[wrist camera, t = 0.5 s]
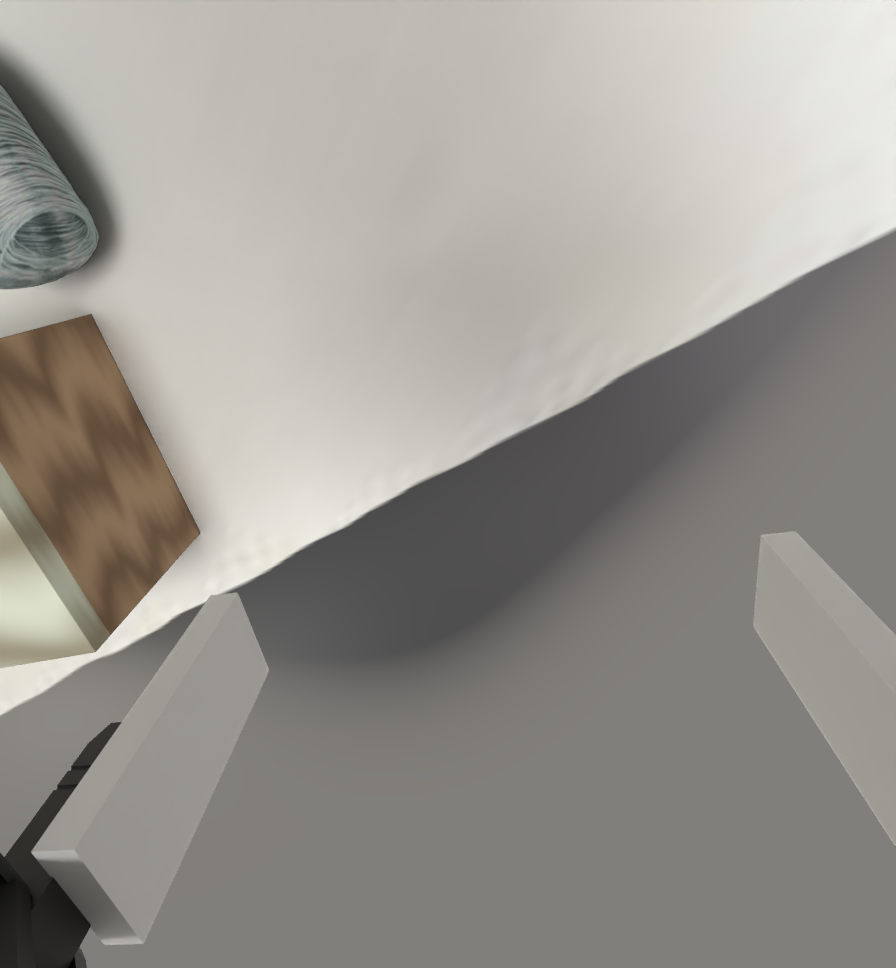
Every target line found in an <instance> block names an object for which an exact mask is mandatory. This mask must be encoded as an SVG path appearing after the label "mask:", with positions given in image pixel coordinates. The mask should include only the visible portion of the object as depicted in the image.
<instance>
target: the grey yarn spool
mask: <svg viewBox="0 0 896 968" xmlns="http://www.w3.org/2000/svg"><path fill="white" fill-rule="evenodd" d="M98 238H99V234H98V231H97V229H96V227H95V224H94V221H93V219H92V217H91V214H90V212H89V210H88V209H87V207H86V206H85V205H84V204H83V203H82V202H81V200H80V199H79V198H78V196H77V195H76V193H75V191H74V190H73V188H72V186H71V185H70V183H69V182H68V180H67V179H66V177H65V176H64V175H63V173H62V172H61V171H60V169H59V168H58V166H57V164H56V163H55V162H54V160H53V159H52V157H51V155H50V154H49V152H48V151H47V149H46V148H45V147H44V145H43V144H42V143H41V141H40V140H39V139H38V137H37V136H36V134H35V133H34V131H33V130H32V128H31V127H30V125H29V123H28V122H27V120H26V119H25V117H24V116H23V114H22V113H21V112H20V110H19V109H18V108H17V106H16V105H15V104H14V102H13V101H12V99H11V98H10V96H9V95H8V94H7V92H6V91H5V90H4V89H3V87H2V86H1V85H0V289H18V288H27V287H34V286H38V285H42V284H45V283H49V282H53V281H55V280H57V279H59V278H62V277H64V276H65V275H67V274H69V273H71V272H74V271H76V270H77V269H78V268H80V267H81V266H82V265H84V264H85V263H86V262H87V260H88V259H89V258H90V256H91V255H92V253H93V252H94V250H95V249H96V247H97V243H98Z"/></svg>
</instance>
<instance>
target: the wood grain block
mask: <svg viewBox="0 0 896 968" xmlns="http://www.w3.org/2000/svg"><path fill="white" fill-rule="evenodd" d="M199 534H200V531H199V529H198V527H197V525H196V523H195V521H194V519H193V517H192V515H191V513H190V511H189V509H188V507H187V505H186V503H185V501H184V499H183V497H182V495H181V493H180V491H179V489H178V487H177V485H176V483H175V481H174V479H173V477H172V475H171V473H170V471H169V469H168V467H167V465H166V463H165V461H164V459H163V457H162V455H161V453H160V451H159V449H158V447H157V445H156V443H155V441H154V439H153V437H152V435H151V433H150V431H149V429H148V427H147V425H146V423H145V421H144V419H143V417H142V415H141V413H140V411H139V409H138V407H137V405H136V403H135V401H134V399H133V397H132V395H131V393H130V391H129V389H128V387H127V385H126V383H125V381H124V379H123V377H122V375H121V373H120V371H119V369H118V367H117V365H116V363H115V361H114V359H113V357H112V355H111V353H110V351H109V349H108V347H107V345H106V343H105V341H104V339H103V337H102V335H101V333H100V331H99V329H98V327H97V325H96V323H95V321H94V319H93V317H92V315H91V314H90V315H87V316H83V317H79V318H75V319H72V320H68V321H64V322H60V323H56V324H53V325H49V326H45V327H41V328H38V329H34V330H30V331H26V332H22V333H19V334H15V335H11V336H7V337H4V338H0V668H4V667H10V666H16V665H22V664H28V663H34V662H40V661H46V660H52V659H58V658H63V657H69V656H75V655H81V654H87V653H93V652H96V651H97V650H98V649H99V648H100V646H101V645H102V644H103V643H104V642H105V641H106V640H107V638H108V637H109V636H110V635H111V634H112V633H113V632H114V630H115V629H116V628H117V627H118V626H119V625H120V624H121V622H122V621H123V620H124V619H125V618H126V617H127V616H128V615H129V613H130V612H131V611H132V610H133V609H134V608H135V607H136V605H137V604H138V603H139V602H140V601H141V600H142V599H143V597H144V596H145V595H146V594H147V593H148V592H149V591H150V589H151V588H152V587H153V586H154V585H155V584H156V583H157V581H158V580H159V579H160V578H161V577H162V576H163V575H164V574H165V572H166V571H167V570H168V569H169V568H170V567H171V566H172V564H173V563H174V562H175V561H176V560H177V559H178V558H179V556H180V555H181V554H182V553H183V552H184V551H185V550H186V548H187V547H188V546H189V545H190V544H191V543H192V542H193V540H194V539H195V538H196V537H197V536H198V535H199Z"/></svg>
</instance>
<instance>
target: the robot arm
mask: <svg viewBox="0 0 896 968" xmlns="http://www.w3.org/2000/svg"><path fill="white" fill-rule="evenodd" d="M753 626H754V628H755V630H756V631H757V633H758V635H759V636H760V638H761V639H762V641H763V642H764V644H765V645H766V647H767V648H768V650H769V652H770V653H771V655H772V656H773V658H774V659H775V661H776V662H777V664H778V666H779V667H780V669H781V670H782V671H783V673H784V675H785V676H786V678H787V679H788V681H789V683H790V684H791V686H792V687H793V689H794V690H795V692H796V693H797V695H798V696H799V698H800V700H801V701H802V703H803V704H804V706H805V707H806V709H807V710H808V712H809V714H810V715H811V717H812V718H813V720H814V721H815V723H816V724H817V726H818V728H819V729H820V731H821V732H822V733H823V735H824V737H825V738H826V740H827V742H828V743H829V745H830V746H831V747H832V749H833V751H834V752H835V754H836V755H837V757H838V758H839V760H840V762H841V763H842V765H843V766H844V768H845V769H846V771H847V772H848V774H849V776H850V777H851V779H852V780H853V782H854V783H855V785H856V786H857V788H858V790H859V791H860V793H861V794H862V796H863V797H864V799H865V800H866V802H867V803H868V805H869V807H870V808H871V810H872V811H873V813H874V814H875V816H876V817H877V819H878V820H879V822H880V824H881V825H882V827H883V828H884V830H885V831H886V833H887V834H888V836H889V838H890V839H891V841H892V842H893V844H894V845H895V847H896V635H895V634H894V633H893V632H892V631H891V630H890V629H889V628H888V627H887V626H886V625H885V624H884V623H883V622H882V621H881V620H880V619H879V618H878V617H877V616H876V615H875V613H874V612H873V611H872V610H871V609H870V608H869V607H868V606H867V605H866V604H865V603H864V602H863V601H862V600H861V599H860V598H859V597H858V596H857V595H856V594H855V593H854V592H853V591H852V590H851V589H850V588H849V587H848V586H847V584H846V583H845V582H844V581H843V580H842V579H841V578H840V577H839V576H838V575H837V574H836V573H835V572H834V571H833V570H832V569H831V568H830V567H829V566H828V565H827V564H826V563H825V562H824V561H823V560H822V559H821V557H820V556H819V555H818V554H817V553H816V552H815V551H814V550H813V549H812V548H811V547H810V546H809V545H808V544H807V543H806V542H805V541H804V540H803V539H802V538H801V537H800V536H799V535H798V534H797V533H796V532H795V531H793V532H784V533H775V534H767V535H761V539H760V550H759V562H758V575H757V587H756V599H755V612H754V624H753ZM268 672H269V669H268V666H267V664H266V661H265V659H264V656H263V654H262V651H261V649H260V647H259V644H258V642H257V639H256V637H255V634H254V632H253V629H252V627H251V624H250V622H249V619H248V617H247V615H246V612H245V610H244V607H243V605H242V602H241V600H240V597H239V595H238V593H229V594H220V595H211V596H210V597H209V598H208V600H207V601H206V603H205V604H204V606H203V607H202V609H201V610H200V611H199V613H198V614H197V616H196V617H195V619H194V620H193V621H192V623H191V624H190V626H189V627H188V628H187V630H186V631H185V633H184V634H183V636H182V637H181V638H180V640H179V641H178V643H177V644H176V646H175V647H174V648H173V650H172V651H171V653H170V654H169V656H168V657H167V658H166V660H165V661H164V663H163V664H162V666H161V667H160V669H159V670H158V671H157V673H156V674H155V676H154V677H153V678H152V680H151V681H150V683H149V684H148V686H147V687H146V688H145V690H144V691H143V693H142V694H141V696H140V697H139V699H138V700H137V702H136V703H135V704H134V705H133V707H132V709H131V710H130V711H129V713H128V714H127V716H126V717H125V719H124V720H123V721H122V722H117V723H111V724H110V725H108V726H107V727H106V728H105V729H104V730H103V731H102V732H101V733H99V734H98V735H97V736H96V737H95V738H94V739H93V740H92V741H90V742H89V743H88V744H87V746H86V747H85V749H84V750H83V751H82V753H81V754H80V755H79V757H78V758H77V760H76V761H75V762H74V763H73V765H72V766H71V767H72V769H71V771H68V772H67V773H66V774H65V776H64V777H63V778H62V780H61V781H60V783H59V784H58V785H57V786H58V788H57V790H54V791H53V792H52V794H51V795H50V796H49V797H48V799H47V800H46V802H45V803H44V804H43V806H42V807H41V808H40V810H39V811H38V812H37V814H36V815H35V816H34V818H33V819H32V821H31V822H30V823H29V825H28V826H27V828H26V829H25V830H24V832H23V833H22V834H21V836H20V837H19V838H18V840H17V841H16V842H15V844H14V845H13V846H12V848H11V849H10V851H9V852H8V853H7V855H6V856H5V857H3V856H2V854H1V853H0V968H86V960H85V957H84V955H83V953H82V950H81V949H80V948H79V947H80V944H81V943H82V941H83V939H84V937H85V935H86V934H87V932H88V930H89V928H90V927H91V928H92V929H93V931H94V932H95V933H96V934H97V936H98V937H99V938H100V940H101V941H102V942H103V943H104V945H114V944H143V943H144V941H145V939H146V937H147V935H148V933H149V930H150V928H151V926H152V924H153V922H154V920H155V917H156V915H157V913H158V911H159V909H160V906H161V904H162V902H163V900H164V898H165V896H166V894H167V891H168V889H169V887H170V884H171V883H172V880H173V878H174V876H175V874H176V872H177V870H178V868H179V865H180V863H181V861H182V859H183V857H184V855H185V852H186V850H187V848H188V846H189V844H190V842H191V839H192V837H193V835H194V833H195V831H196V829H197V826H198V824H199V822H200V820H201V818H202V815H203V813H204V811H205V809H206V807H207V805H208V802H209V800H210V798H211V796H212V794H213V792H214V789H215V787H216V785H217V783H218V781H219V779H220V776H221V774H222V772H223V770H224V768H225V766H226V763H227V761H228V759H229V757H230V755H231V753H232V750H233V748H234V746H235V744H236V742H237V739H238V737H239V735H240V733H241V731H242V729H243V727H244V724H245V722H246V720H247V718H248V716H249V713H250V711H251V709H252V707H253V705H254V702H255V700H256V698H257V696H258V694H259V691H260V690H261V687H262V685H263V683H264V681H265V679H266V677H267V674H268Z"/></svg>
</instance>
